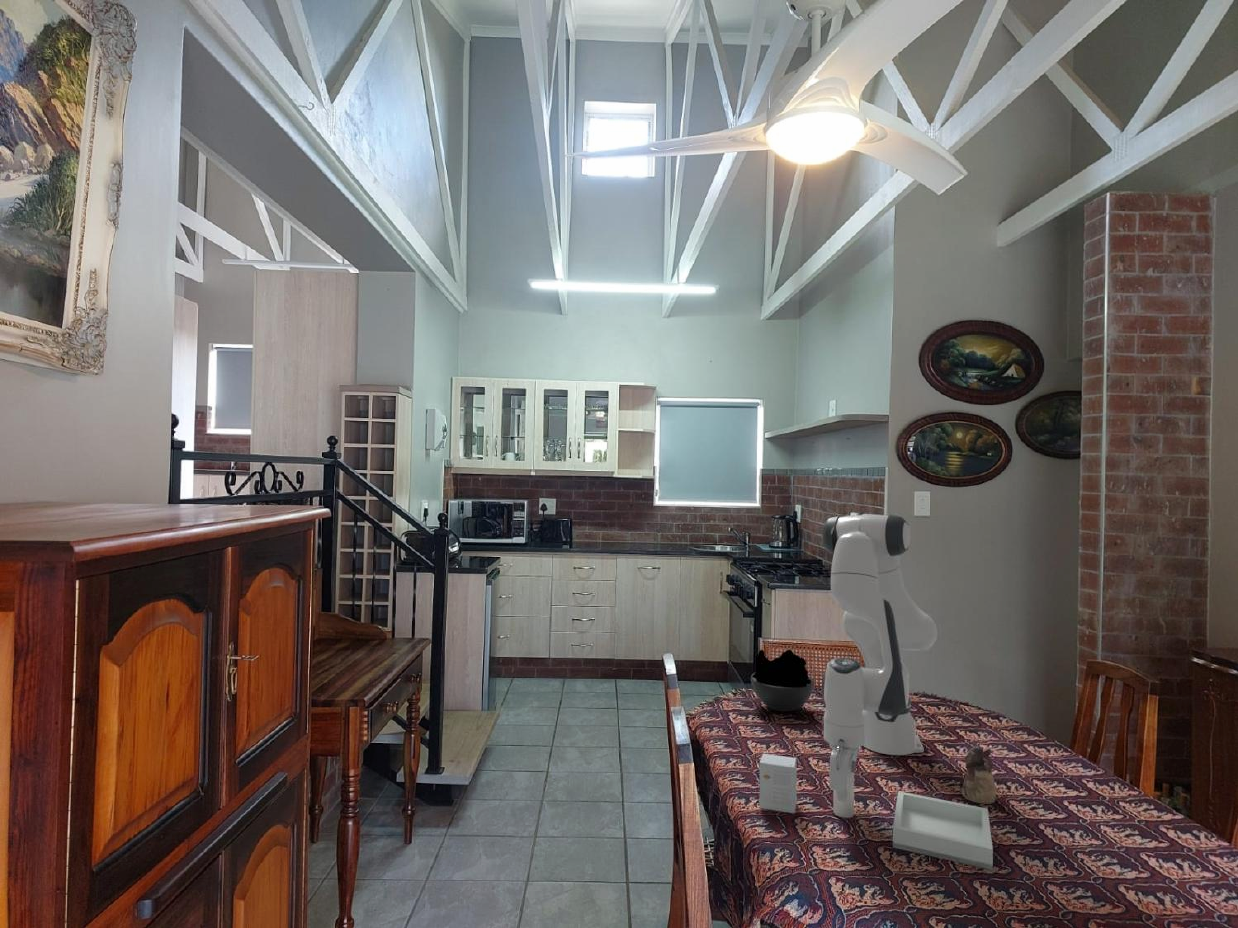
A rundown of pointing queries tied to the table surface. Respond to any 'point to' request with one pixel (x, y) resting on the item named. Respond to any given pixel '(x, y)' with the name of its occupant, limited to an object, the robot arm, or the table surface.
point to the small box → (778, 783)
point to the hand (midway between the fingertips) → (843, 794)
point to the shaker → (846, 807)
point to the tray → (943, 830)
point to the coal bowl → (782, 681)
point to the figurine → (979, 777)
